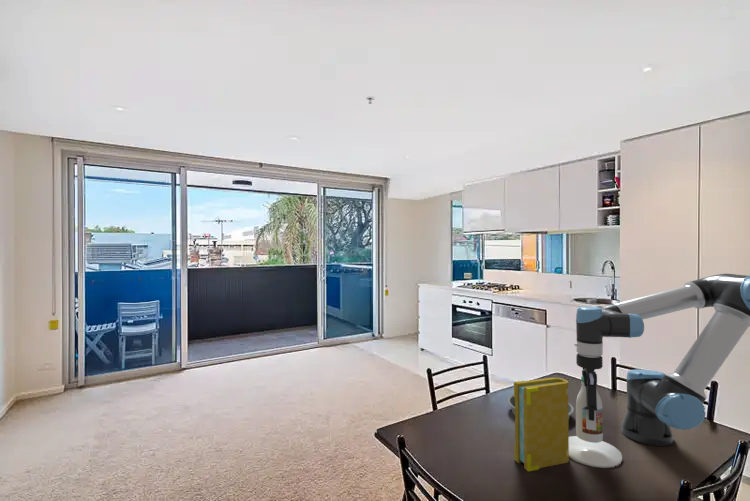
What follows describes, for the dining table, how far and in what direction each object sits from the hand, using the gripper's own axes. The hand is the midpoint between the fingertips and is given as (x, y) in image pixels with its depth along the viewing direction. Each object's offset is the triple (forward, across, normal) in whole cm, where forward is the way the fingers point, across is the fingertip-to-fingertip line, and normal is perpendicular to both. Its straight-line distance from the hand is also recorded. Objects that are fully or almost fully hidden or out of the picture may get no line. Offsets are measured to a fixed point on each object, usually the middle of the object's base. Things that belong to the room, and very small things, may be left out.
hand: (589, 423), depth 128 cm
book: (+10, +11, -14) cm, 20 cm away
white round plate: (+9, 0, 0) cm, 9 cm away
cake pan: (+10, -26, -15) cm, 32 cm away
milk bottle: (+5, 0, 0) cm, 5 cm away
